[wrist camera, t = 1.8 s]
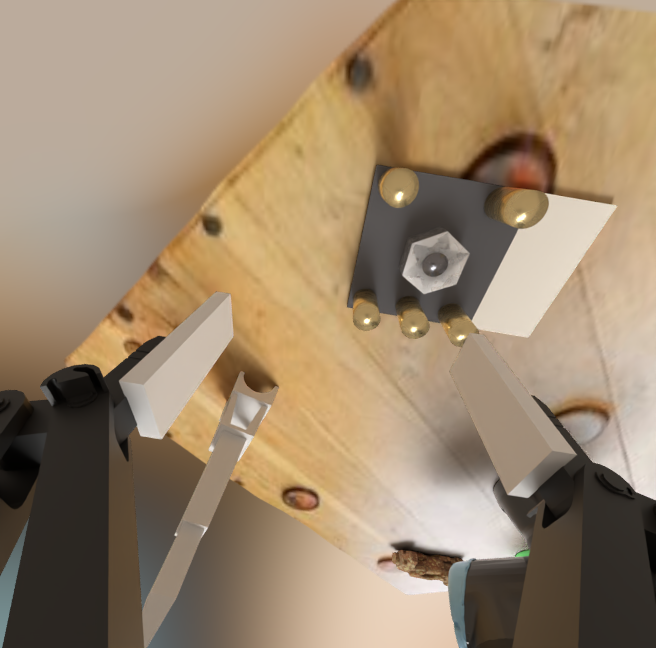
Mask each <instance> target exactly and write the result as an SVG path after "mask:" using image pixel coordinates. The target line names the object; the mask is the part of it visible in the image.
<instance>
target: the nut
mask: <svg viewBox="0 0 656 648" xmlns="http://www.w3.org/2000/svg"><path fill="white" fill-rule="evenodd" d="M469 254H470V253H469V252H468V251H467V250H466V249H465V248H464V247H463V246H462V245H461V244H460V243H459V242H458V241H457V240H456V239H455V238H454V237H453V236H452V235H451V234H450V233H449V232H448V231H446V230H445V229H443V228H442V227H437V228H434V229H431V230H429V231H426V232H423V233H420V234H418V235H415V236H412V237H409V238H408V239H407V242H406V246H405V249H404V252H403V256H402V259H401V262H400V266H399V269H400V272H401V274H402V276H403V277H405V278H406V279H407V280H408V281H409V282H410V283H412V284H413V285H414V286H415V287H416V288H417V289H418V290H420V291H421V292H422V293H423V294H426V293H430V292H433V291H436V290H440V289H443V288H446V287H450V286H453V285H456V284H457V282H458V279H459V277H460V275H461V272H462V270H463V268H464V265H465V263H466V261H467V259H468V256H469Z"/></svg>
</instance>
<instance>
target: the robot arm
mask: <svg viewBox="0 0 656 648" xmlns="http://www.w3.org/2000/svg"><path fill="white" fill-rule="evenodd" d="M233 337H234V336H233V322H232V307H231V294H229V293H222V292H215V293H214V294H213V295H212V296H211V297H210V298H209V299H207V300H206V301H205V302H204V303H203V304H202V305H201V306H200V307H199V308H198V309H197V310H196V311H194V312H193V313H192V314H191V315H190V316H189V317H188V318H187V319H186V320H185V321H184V322H182V323H181V324H180V325H179V326H178V327H177V328H176V329H175V330H174V331H173V332H172V333H170V334H169V335H168V336H167V337H163V336H157V337H155V338H153V339H151V340H149V341H147V342H145V343H144V344H143V345H141V346H140V347H139V348H138V349H137V350H136V352H133V353H132V354H131V355H130V356H128V359H127V358H126V359H125V360H124V361H123V362H121V363H120V364H119V365H118V366H117V367H116V368H114V369H113V370H112V371H111V372H110V373H108V374H107V375H106V376H105V377H104V378H103V375H102V373H101V371H100V368H98V367H96V366H94V365H88V364H82V365H74V366H71V367H67V368H64V369H62V370H59V371H58V372H55V373H53V374H52V375H50V376H49V377H48V378H47V379H45V380H44V381H43V383H42V384H41V386H40V388H41V389H42V391H43V393H44V394H45V396H46V397H47V399H48V400H38V401H29V400H28V399H27V397H26V396H25V394H24V393H23V392H20V391H17V390H5V391H1V392H0V575H1V573H2V571H3V569H4V567H5V565H6V563H7V561H8V559H9V557H10V555H11V553H12V551H13V549H14V547H15V545H16V543H17V541H18V539H19V537H20V535H21V533H22V530H23V528H24V526H25V524H26V522H27V520H28V518H29V522H28V527H27V531H26V537H25V542H24V546H23V551H22V556H21V560H20V565H19V570H18V575H17V580H16V585H15V589H14V594H13V599H12V604H11V608H10V613H9V618H8V623H7V628H6V632H5V637H4V642H3V647H2V648H144V635H143V619H142V604H141V588H140V573H139V557H138V541H137V528H136V527H137V526H136V511H135V496H134V479H133V464H132V450H131V440H130V437H129V434H130V433H131V432H132V431H133V430H134V428H135V427H136V426H137V428H138V430H139V433H140V435H141V436H144V437H150V438H157V439H162V438H163V437H164V435H165V434H166V432H167V431H168V429H169V428H170V427H171V425H172V424H173V422H174V421H175V419H176V418H177V417H178V415H179V414H180V412H181V411H182V409H183V408H184V407H185V405H186V404H187V402H188V401H189V399H190V398H191V397H192V395H193V394H194V392H195V391H196V389H197V388H198V387H199V385H200V384H201V382H202V381H203V379H204V378H205V377H206V375H207V374H208V372H209V371H210V369H211V368H212V367H213V365H214V364H215V362H216V361H217V359H218V358H219V357H220V355H221V354H222V352H223V351H224V349H225V348H226V347H227V345H228V344H229V342H230V341H231V339H232V338H233ZM449 372H450V374H451V376H452V378H453V380H454V382H455V384H456V387H457V389H458V391H459V393H460V395H461V397H462V399H463V401H464V404H465V406H466V408H467V410H468V412H469V414H470V416H471V418H472V421H473V423H474V425H475V427H476V429H477V431H478V433H479V435H480V437H481V440H482V442H483V444H484V446H485V448H486V450H487V452H488V454H489V457H490V459H491V461H492V463H493V465H494V467H495V469H496V471H497V474H498V476H499V478H500V480H499V481H498V482H497V483H496V485H495V487H494V495H495V497H496V499H497V502H498V504H499V506H500V508H501V509H502V510H503V511H504V512H505V513H506V514H507V515H508V517H509V518H510V520H511V521H512V522H513V524H514V525H515V527H516V528H517V529H518V531H519V532H520V533H521V535H522V536H523V537H524V539H525V541H526V543H527V545H528V547H529V549H530V553H529V556H523V557H522V556H521V557H508V558H494V559H481V560H476V559H475V558H473V559H470V560H469V561H461V562H456V563H454V564H453V565H452V566H451V568H450V570H449V575H448V592H449V602H450V609H451V615H452V620H453V622H454V628H455V635H456V639H457V643H458V646H459V648H656V500H653V499H651V498H648V497H646V496H644V495H641V494H639V493H636V492H635V491H634V489H633V488H632V487H631V486H630V484H628V483H627V482H626V481H625V480H624V479H623V478H622V477H621V476H619V475H618V474H616V473H615V472H613V471H612V470H611V469H609V468H607V467H605V466H602V465H600V464H596V463H593V462H592V461H591V460H590V459H589V457H588V456H587V455H586V454H585V453H584V451H583V450H582V449H581V448H580V446H579V445H578V444H577V443H576V441H575V440H574V439H573V438H572V436H571V435H570V434H569V433H568V432H567V430H566V429H565V428H563V425H562V424H561V423H560V422H559V420H558V419H556V418H555V415H554V414H553V413H552V412H551V411H550V409H549V408H548V407H547V406H546V405H545V404H544V403H543V402H541V401H540V400H539V399H538V398H537V397H535V396H533V395H530V394H529V392H528V391H527V390H526V388H525V387H524V386H523V385H522V383H521V382H520V381H519V379H518V378H517V377H516V376H515V374H514V373H513V372H512V370H511V369H510V368H509V367H508V365H507V364H506V363H505V361H504V360H503V359H502V358H501V356H500V355H499V354H498V352H497V351H496V350H495V349H494V347H493V346H492V345H491V343H490V342H489V341H488V340H487V338H486V337H485V336H484V335H481V334H475V333H469V335H468V337H467V339H466V340H465V342H464V344H463V346H462V348H461V350H460V352H459V354H458V356H457V358H456V360H455V362H454V364H453V365H452V367H451V369H450V371H449ZM29 516H30V517H29Z"/></svg>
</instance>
